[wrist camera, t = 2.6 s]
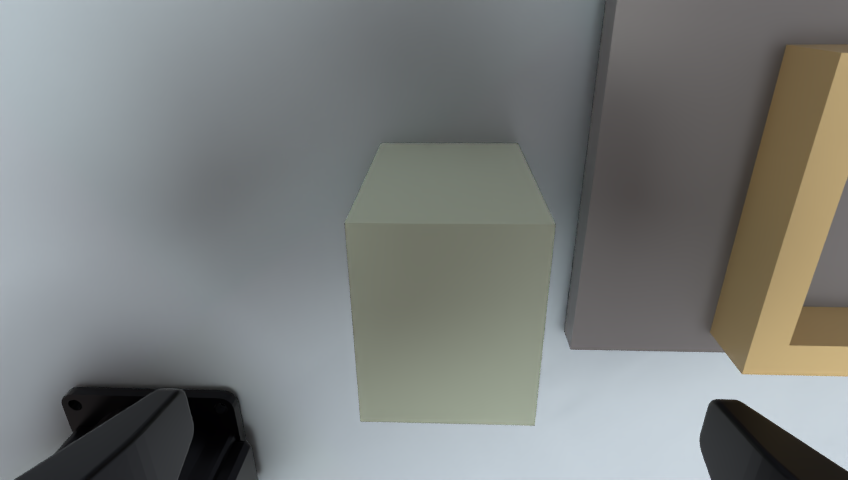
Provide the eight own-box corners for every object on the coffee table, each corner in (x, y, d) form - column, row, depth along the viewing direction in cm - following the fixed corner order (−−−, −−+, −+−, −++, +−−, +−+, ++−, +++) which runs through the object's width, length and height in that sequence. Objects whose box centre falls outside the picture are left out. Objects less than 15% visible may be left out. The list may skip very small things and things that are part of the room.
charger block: (387, 289, 18) (360, 421, 12) (381, 142, 15) (344, 223, 10) (507, 291, 17) (534, 425, 12) (517, 142, 15) (555, 225, 10)
